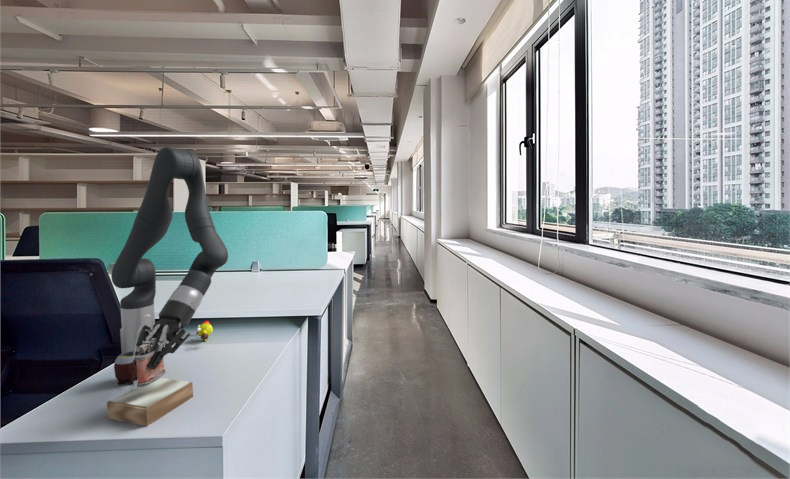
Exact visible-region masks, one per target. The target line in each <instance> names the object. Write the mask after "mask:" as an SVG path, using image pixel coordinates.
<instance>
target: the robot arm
mask: <svg viewBox="0 0 790 479" xmlns="http://www.w3.org/2000/svg"><path fill="white" fill-rule="evenodd" d="M174 179H176V180H183V181H184V182H185V184H186V187H187V190H188V198H187V202H186V205H185V209H184V219H185V223H186V226H187V229H188V232H189V236H190V237H191V239H192V241H193V242H194V243H198V244H199V246H200V249H201V251H200V252H199V253H198V254H197V255H196V257H195V258H194V259H193V261H192V263H191V265H190V267H189V268H188V272H187V274H186V275H185V276H184V277H183V279H182V281H181V282H180V283H179V285H178V287H176V289H175V290H174V291H173V293H172V294H171V295H170V296H169V298H168V299H167V301H166V303H165V304H164V306H163V307H162V309H161V310H160V311H159V313H158V320H157V321H156V316H155V297H156V294H157V293H156V292H157V291H156V283H157V282H156V281H157V276H156V275H157V274H156V272H157V271H156V269H155V268H156V267H155V264H154V263H153V261H152V260H151V259H149V258H146V257H145V258H144V255H146V254H147V252H149V250H151V249H152V248H153V247H155V246H156V244H158V243H159V242H160V241H161V240H162V239H163V238H164V237H165V236H166V234H167V232H168V231H169V228H170V225H171V223H172V220H173V215H174V214H173V209H172V206H171V203H170V199H169V191H170V187H171V184H172V182H173V180H174ZM205 186H206V185H205V180H204V175H203V168H202V163H201V161H200V159H199V156H198V155H197V154H196V153H194V151H190V150H187V149H186V150H185V149H180V148H176V147H172V146H171V147H170V146H165V147H162V148H160V150H159V151H158V152H157V154H156V155H155V158H154V161H153V164H152V169H151V172H150V176H149V180H148V184H147V187H146V190H145V194H144V196H143V199H142V202H141V204H140V206H139V209H138V211H137V213H136V215H135V218H134V220H133V225H132V228H131V230H130V233H129V235H128V237H127V239H126V241H125V244H124V246H123V248H122V250H121V252H120V253H119V254H118V257H117V259H116V260H115V263H114V265H113V267H112V270H111V274H110V275H111V277H110V278H111V281H112V284H113V285H114V286H115V287H116V288H118V289H130V288H133V290H132V291H131V292H130V293H129V294H127V295H126V296H124V297H122V298H121V299H120V305H119V306H120V319H121V320H120V322H121V328H120V329H119V334H120V335H119V336H120V349H121V352H120V353H121V354H123V353H126V352H131V351H133V350H134V343H135V335H136V333H137V330H138V328H139V327H140V325H142V326H141V329H140V331H139V333H138V338H137V344H136V351H138V352H139V353H140V348H139V346H141V345H143V343H144V342H145V341H150V340H151V339H153V338H158V339H160V340H159V342H158V343H156V345H159V347H158V349H157V351H158V352H155V353H154V355H153V356H152V358H151V360H150V361H149V363H148V364H147V367H148V368H150V369H156V367H157V366H158V365H159V364H160V362H161V360H162V359H163V357H165V356H167V355H168V354H174V353H176V352H177V350H179V348H180V347H181V345H182V344H183V343H185V341H186V340H187V339H188V338H189V337H190V335H191V334H190V332H189V331H188V330H185V327H187V326H188V325H189V323H190V321H191V320H192V318H193V317H194V316H195V313H196V311H197V310H198V308H199V306H200V304H201V303H202V300H203V298H204V296H205V294H206V293H207V291H208V290H209V288H210V286H211V284H212V277H213V275H214V274H215V272H216V270H218V269H220V268H221V267H223V266H224V265H226V264H227V262H228V260H229V253H228V249H227V246H226V244H225V243H224V242H223V240H222V238H221V237H220V235H219V233H218V232H217V230H216V226H215V224H214V222H213V218H212V215H211V212H210V209H209V206H208V200H207V194H206V188H205ZM139 353H138V354H139ZM132 364H133V365H134V366H136V367H137V363H136V360H135V359H134V360H133V363H132Z"/></svg>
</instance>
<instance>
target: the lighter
mask: <svg viewBox="0 0 790 479" xmlns="http://www.w3.org/2000/svg"><path fill="white" fill-rule="evenodd" d="M159 340H160V339H158V338H153V339H151V340H150V341H145V342H144V343H143V345H141V346H139V348H140V353H139V354H137V355H136V356H135V360H136V363H137V377H138V380H137V382H136V387H145V386H148V385H150V384H152V383H153V382H155V381H156V380H158V379H159V378H163V376H164V375H165V374H166V369H165V360H164V359H165V358H164V357H165V356H164V357H163V359H162V360H161V362H160V364H159V365H158V366H157V367H156V369H150V368H148V367H147V364H148V363H149V361H150V360H151V358H152V356H153V355H154V353H155V352H158V351H157V349H158V347H159V345H156V343H158V342H159Z"/></svg>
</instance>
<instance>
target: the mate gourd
mask: <svg viewBox="0 0 790 479" xmlns="http://www.w3.org/2000/svg"><path fill="white" fill-rule="evenodd" d="M141 326H142V325H140V327H139V328H138V330H137V333H136V335H135V343H134V350H133V351H131V352H126V353H123V354H122V353H121V354H119V355H118V356H117V357H116V359H115V360H114V365H113V369H114V370H113V371H114V376H115V378H116V381H117V382H116V384H117V385H124V384H127V383H129V385H130V386H133V385H135V382H134V381H138V380H137V379H138V377H137V367H136V366H134V365H133V364H132V363H133V360H134V359H135V356H136V355H137V354H138V353H139V352H138V351H136V344H137V338H138V333H139V331H140V329H141Z"/></svg>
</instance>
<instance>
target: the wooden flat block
mask: <svg viewBox="0 0 790 479" xmlns="http://www.w3.org/2000/svg"><path fill="white" fill-rule="evenodd" d="M193 386H194V385H193V382H192V381H191V382H190V381H185V380H179V379H178V380H177V379H172V378H165V377H161V378H159V379H158V380H156V381H155V382H153V383H152V384H150V385H148V386H145V387H137V386H136V387H133V388H132V389H130V390H129V391H126V392H124V393H123V394H120V395H118V396H116V397H114V398H113V399H111V400H109V401H107V402H106V408H107V419H110V420H114V421H120V422H125V423H131V424H136V425H138V426H139V425H140V426H146V427H149V426H150V425H151V424H153V423H155V422H156V421H158V420H159V419H161V418H162V417H164V416H166V415H167V414H168V413H170V412H172V411H173V410H175V409H176V408H178V407H179V406H182V405H183V404H184V403H186V402H188V401H189V400H191V399H192V398H194V390H193V388H194V387H193Z"/></svg>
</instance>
